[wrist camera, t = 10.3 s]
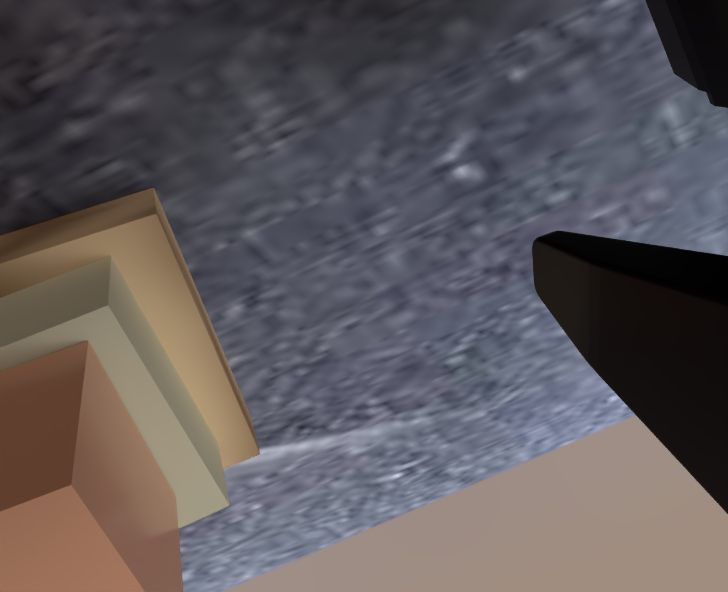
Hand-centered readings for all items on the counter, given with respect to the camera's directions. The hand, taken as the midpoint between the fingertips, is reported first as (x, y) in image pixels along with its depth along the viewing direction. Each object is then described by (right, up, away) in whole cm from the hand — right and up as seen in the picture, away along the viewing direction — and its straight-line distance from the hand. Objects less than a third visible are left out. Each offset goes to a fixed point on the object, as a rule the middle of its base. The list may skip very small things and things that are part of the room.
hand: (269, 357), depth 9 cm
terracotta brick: (-7, -3, +7) cm, 11 cm away
